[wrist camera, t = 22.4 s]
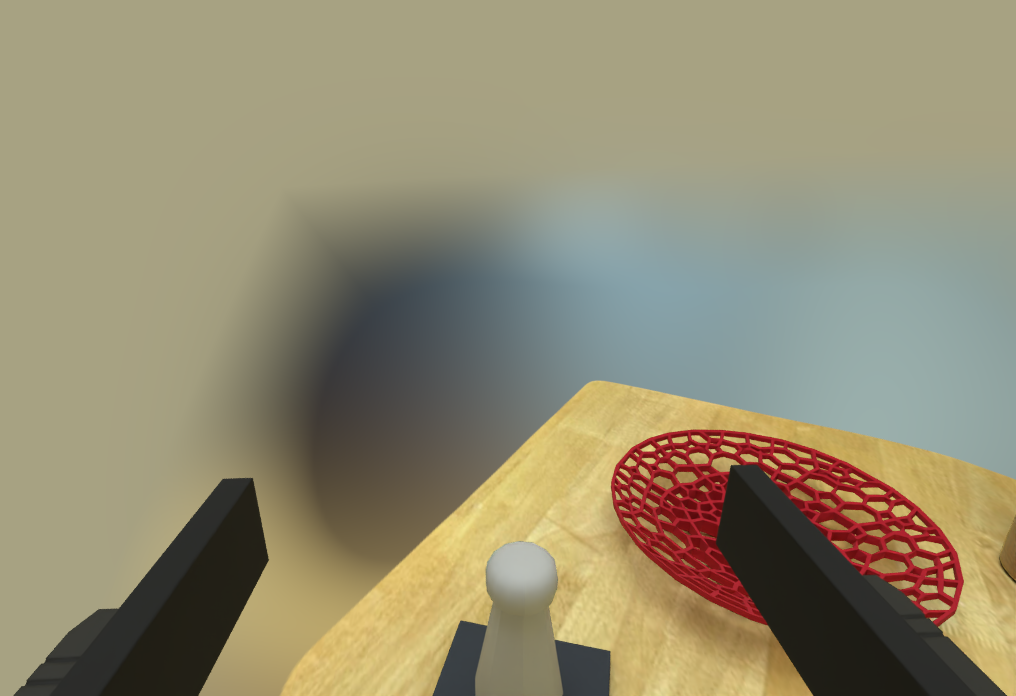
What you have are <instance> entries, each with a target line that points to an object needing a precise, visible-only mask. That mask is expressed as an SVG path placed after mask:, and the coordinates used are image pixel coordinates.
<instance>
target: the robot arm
mask: <svg viewBox="0 0 1016 696" xmlns="http://www.w3.org/2000/svg"><path fill="white" fill-rule="evenodd" d="M716 545H717V546H718V548H719V550H720V551H721V553H722V554H723V556H724V557H725V559H726V560H727V562H728V564H729V565H730V567H731V568H732V570H733V571H734V573H735V574H736V576H737V578H738V579H739V581H740V582H741V584H742V585H743V587H744V588H745V590H746V592H747V593H748V595H749V596H750V598H751V599H752V601H753V602H754V604H755V606H756V607H757V609H758V610H759V612H760V613H761V615H762V617H763V618H764V620H765V621H766V623H767V624H768V626H769V627H770V629H771V631H772V632H773V634H774V635H775V637H776V638H777V640H778V641H779V643H780V645H781V646H782V648H783V649H784V651H785V652H786V654H787V655H788V657H789V659H790V660H791V662H792V663H793V665H794V666H795V668H796V669H797V671H798V673H799V674H800V676H801V677H802V679H803V680H804V682H805V683H806V685H807V687H808V688H809V690H810V691H811V693H812V694H813V696H1007V695H1006V694H1005V693H1004V692H1003V691H1002V690H1001V689H1000V688H999V687H998V686H997V685H996V684H995V683H994V682H993V681H992V680H991V679H990V678H989V677H988V676H987V675H986V674H985V673H984V672H983V671H982V670H981V669H980V668H979V667H977V666H976V665H975V664H974V663H973V662H972V661H971V660H970V659H969V658H968V657H967V656H966V655H965V654H964V653H963V652H962V651H961V650H960V649H959V648H958V647H957V646H956V645H955V644H954V643H953V642H952V641H951V640H950V639H949V638H948V637H945V636H944V635H943V632H942V631H941V630H940V629H939V628H938V627H937V626H936V625H935V624H934V623H933V622H932V621H931V620H930V619H929V618H926V617H925V614H924V613H923V612H922V611H921V610H920V609H919V608H918V607H917V606H916V605H915V604H914V603H913V602H912V601H911V600H910V599H909V598H908V597H907V596H906V595H905V594H904V593H903V592H901V591H900V590H898V589H897V588H895V587H894V586H892V585H891V584H889V583H888V582H886V581H885V580H883V579H882V578H880V577H879V576H877V575H862V574H861V573H860V572H859V571H858V570H857V569H856V568H855V567H854V566H853V565H852V564H851V563H850V562H849V561H848V560H847V559H846V558H845V557H844V556H843V555H842V553H841V552H840V551H839V550H838V549H837V548H836V547H835V546H834V545H833V544H832V543H831V542H830V541H829V540H828V539H827V538H826V537H825V536H824V535H823V533H822V532H821V531H820V530H819V529H818V528H817V527H816V526H815V525H814V524H813V523H812V522H811V521H810V520H809V519H808V518H807V517H806V516H805V515H804V514H803V512H802V511H801V510H800V509H799V508H798V507H797V506H796V505H795V504H794V503H793V502H792V501H791V500H790V499H789V498H788V497H787V496H786V495H785V494H784V492H783V491H782V490H781V489H780V488H779V487H778V486H777V485H776V484H775V483H774V482H773V481H772V480H771V479H770V478H769V477H768V476H767V475H766V474H765V472H764V471H763V470H762V469H761V468H760V467H759V466H758V465H731V468H730V473H729V478H728V483H727V488H726V493H725V498H724V503H723V508H722V513H721V518H720V523H719V528H718V534H717V539H716ZM268 561H269V559H268V554H267V549H266V544H265V538H264V533H263V528H262V523H261V518H260V512H259V507H258V502H257V497H256V492H255V487H254V482H253V478H236V479H223V480H222V481H221V482H220V483H219V484H218V486H217V487H216V488H215V489H214V491H213V492H212V493H211V495H210V496H209V497H208V498H207V499H206V501H205V502H204V503H203V504H202V506H201V507H200V508H199V509H198V511H197V512H196V513H195V514H194V516H193V517H192V518H191V519H190V521H189V522H188V523H187V524H186V526H185V527H184V528H183V529H182V531H181V532H180V533H179V534H178V536H177V537H176V538H175V539H174V541H173V542H172V543H171V544H170V546H169V547H168V548H167V549H166V551H165V552H164V553H163V554H162V556H161V557H160V558H159V559H158V561H157V562H156V563H155V564H154V566H153V567H152V568H151V569H150V571H149V572H148V573H147V574H146V575H145V577H144V578H143V579H142V580H141V582H140V583H139V584H138V586H137V587H136V588H135V589H134V590H133V592H132V593H131V594H130V595H129V597H128V598H127V599H126V600H125V602H124V603H123V604H122V605H121V607H120V608H119V609H99V610H97V611H96V612H95V613H93V614H92V615H91V616H89V617H88V618H87V619H85V620H84V621H83V622H81V623H80V624H79V625H77V626H76V627H75V628H73V629H72V630H71V631H69V632H68V634H67V635H66V636H65V637H64V638H63V639H62V640H61V642H60V643H59V644H58V645H57V646H56V647H55V648H54V650H53V651H52V652H51V653H50V654H49V655H48V657H47V658H46V661H45V663H44V664H41V665H40V666H39V667H38V668H37V669H36V670H35V671H34V673H33V674H32V675H31V676H30V677H29V678H28V680H27V683H26V685H25V686H22V687H21V688H20V689H19V690H18V691H17V692H16V693H15V694H14V696H198V695H199V693H200V691H201V689H202V688H203V686H204V684H205V682H206V680H207V678H208V676H209V674H210V672H211V670H212V668H213V666H214V664H215V663H216V661H217V659H218V657H219V655H220V653H221V651H222V649H223V647H224V645H225V643H226V641H227V639H228V638H229V636H230V634H231V632H232V630H233V628H234V626H235V624H236V622H237V620H238V618H239V616H240V614H241V612H242V611H243V609H244V607H245V605H246V603H247V601H248V599H249V597H250V595H251V593H252V591H253V589H254V588H255V586H256V584H257V582H258V580H259V578H260V576H261V574H262V572H263V570H264V568H265V566H266V564H267V562H268Z"/></svg>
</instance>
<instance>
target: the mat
mask: <svg viewBox="0 0 1016 696" xmlns="http://www.w3.org/2000/svg"><path fill="white" fill-rule="evenodd" d="M486 630H487V626H485V625H480V624H475V623H471V622H466V621H460V623H459V626H458V629H457V631H456V634H455V637H454V639H453V642H452V645H451V648H450V650H449V653H448V656H447V658H446V661H445V664H444V666H443V669H442V672H441V675H440V677H439V680H438V683H437V685H436V688H435V691H434V693H433V696H475V676H476V672H477V668H478V664H479V659H480V655H481V651H482V647H483V642H484V638H485V634H486ZM555 646H556V652H557V658H558V664H559V670H560V676H561V683H562V689H563V695H562V696H609V680H610V651H607V650H602V649H597V648H592V647H587V646H583V645H578V644H573V643H568V642H563V641H558V640H555Z"/></svg>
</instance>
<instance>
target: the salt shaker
mask: <svg viewBox="0 0 1016 696" xmlns="http://www.w3.org/2000/svg"><path fill="white" fill-rule="evenodd" d="M557 585H558V577H557V570H556V565H555V559H554V558H553V557H552V556H551V555H550V554H549V553H548V551H547V550H546V549H544V548H542V547H540V546H538V545H536V544H534V543H532V542H523V541H518V542H513V543H508V544H505V545H503V546H502V547H500V548H499V549H497V550H496V551H494V552H493V554H492V555H491V557H490V559H489V560H488V562H487V567H486V586H487V592H488V594H489V596H490V598H491V600H492V601H493V604H492V608H491V613H490V617H489V621H488V625H487V630H486V634H485V638H484V642H483V647H482V651H481V655H480V659H479V664H478V668H477V672H476V676H475V696H562V695H563V689H562V683H561V676H560V670H559V664H558V658H557V652H556V646H555V640H554V634H553V628H552V622H551V616H550V610H549V605H550V604H551V603H552V601H553V598H554V595H555V593H556V590H557Z"/></svg>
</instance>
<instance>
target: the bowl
mask: <svg viewBox="0 0 1016 696" xmlns="http://www.w3.org/2000/svg"><path fill="white" fill-rule="evenodd" d="M691 435H699V436H701V437H702V438H703V439H704V440H706V441H707V443H698V442H696V441H694V440H692V438H691ZM683 436H687V437H688V441H687V442H685V443H673V442H672V438H676V437H683ZM709 436H720V438H711V437H709ZM724 436H728V437H737V438H745V441H746V443H734V442H731V441H728V440H724V439H723V437H724ZM666 439H668V442H669V444H666V445H662V446H660V445H659V444H658V443H656V442H659V441H663V440H666ZM749 439H751V440H756V441H761V442H767V443H771V446H770V447H759V446H756V445H753V444H751V443H750V440H749ZM711 443H713V444H711ZM650 444H651V445H652V446H653V447H654V448H656V450H655V451H654V452H643V451H641V450H640V449H642V448H644V447H646V446H648V445H650ZM691 444H692V445H693V446H695V447H692V448H689V447H688V446H690V445H691ZM774 444H777V445H781V446H784V448H781V447H774ZM721 445H725V446H730V447H734V448H735V449H736V450H737V452H736V453H735V454H732V453H729V452H725V451H722V450H721V448H720V446H721ZM787 447H788V448H792V449H795V450H798V451H801V452H804V453H807V454H810V455H811V458H812V459H809V458H802V457H798V456H797V455H796V454H794V453H793V452H791V451H790V450H788V449H787ZM670 449H671V450H672V451H671V452H669V453H668V452H666V450H670ZM675 449H684V450H685V451H687V452H686V453H682V452H680V451H677V450H675ZM708 449H715V450H716V451H717V452H716V453H713V454H712V453H711V452H710V451H709V450H708ZM635 452H636V453H637V454H638V455H639V457H637V456H636V455H635V454H634V453H635ZM697 452H699V453H704V454H706V455H707V456H708V458H709V461H708V464H694V463H693V462H692V460H691V459H690V458H689V455H690V454H692V453H697ZM659 453H661V454H662V456H663V457H661V458H660V457H659V456H658V454H659ZM768 453H770V454H768ZM773 453H780V454H785V455H787V456H788V457H789V458H791V459H792V460H794V461H795V462H796V463H795V464H794V463H782V462H781V461H780V460H778V459H777V458H776V457H775V456H774V455H773ZM741 454H750V455H753V456H755V457H757V458H758V462H746V461H745V460H744V459H742V458H741V457H740V455H741ZM673 456H676V457H679V458H681V459H683V460H685V461H686V463H687V464H677V463H675V462H674V461H672V460H671V459H670V458H672V457H673ZM630 457H631V458H632V459H633V460H634V461H635V462H637V464H636V466H631V467H628V466H627V465H625V464H624V463H625V462H626V461H627V460H628V459H629V458H630ZM720 457H726V458H730V459H733V460H736V461H737V462H738V463H739V464H741V465H758V466H759V467H760V468H761V469H762V470H763V471H764V472H766V473H768V474H769V475H771V478H770V479H771V480H772V481H773V482H774V483H775V484H776V485H777V486H778V487H779V488H780V489H781V490H782V491H783V492H784V494H785V495H786V496H787V497H788V498H789V499H790V500H791V501H792V502H793V503H794V504H795V505H796V506H797V507H798V508H799V509H800V510H801V511H802V512H803V514H804V515H805V516H806V517H807V518H808V519H809V520H810V521H811V522H812V523H813V524H814V525H815V526H816V527H817V528H818V529H819V530H820V531H821V532H822V533H823V535H824V536H825V537H826V538H827V539H828V540H829V541H830V542H831V541H847V542H848V543H850V544H852V545H853V548H849V549H844V550H842V549H840V548H839V547H838V546H836V545H835V544H834V543H832V542H831V543H832V544H833V545H834V546H835V547H836V548H837V549H838V550H839V551H840V552H841V553H842V555H843V556H844V557H845V558H846V559H847V560H848V561H849V562H850V563H851V564H852V565H853V566H854V567H855V568H856V569H857V570H858V571H859V572H860V573H861V574H862V575H877V576H879V577H880V578H882V579H883V580H885V581H886V582H894V581H902V580H906V581H909V582H913V583H915V585H914V586H913V587H910V588H906V589H902V590H900V589H898V590H900V591H901V592H903V593H904V594H905V595H906V596H909V595H913V596H914V597H916V598H917V600H916V602H915V601H912V600H911V601H912V602H913V603H914V604H915V605H916V606H917V607H918V608H919V609H920V610H921V611H922V612H923V613H924V614H925V617H926V618H937V619H936V620H935V621H933V623H934V624H935V625H936V626H937V627H939V626H940V625H941V624H942V623H944V622H945V621H946V620H948V619H949V618H950V617H951V616H953V615H954V614H955V612H956V610H957V606H958V602H959V598H960V595H961V591H962V587H963V583H964V580H963V576H962V572H961V567H960V563H959V559H958V554H957V552H956V551H955V549H954V548H953V546H952V545H951V543H950V542H949V540H948V539H947V537H946V536H945V535H944V533H943V532H942V530H941V529H940V528H939V527H938V526H937V525H936V524H935V523H934V522H933V521H932V520H931V519H930V518H929V517H928V516H927V515H926V514H925V513H924V512H923V511H922V510H921V509H920V508H919V507H918V506H916V505H915V504H914V503H912V502H911V501H910V500H908V499H907V498H906V497H904V496H903V495H902V494H900V493H899V492H898V491H896V490H895V489H894V488H892V487H890V486H889V485H887V484H885V483H883V482H881V481H879V480H878V479H876V478H874V477H872V476H870V475H869V474H867V473H865V472H863V471H861V470H860V469H858V468H856V467H854V466H852V465H850V464H849V463H847V462H844V461H842V460H839V459H837V458H835V457H832V456H830V455H827V454H825V453H822V452H820V451H817V450H815V449H812V448H808V447H805V446H802V445H799V444H795V443H792V442H789V441H786V440H782V439H777V438H772V437H767V436H762V435H756V434H751V433H745V432H736V431H726V430H686V431H678V432H670V433H665V434H662V435H659V436H655V437H652V438H649V439H647V440H645V441H643V442H641V443H639V444H638V445H636V446H634V447H632V448H631V449H630V450H629V451H628V452H627V454H626V455H625V456H624V457H623V458H622V459H621V460H620V461H619V463H618V464H617V465H616V467H615V471H614V474H613V478H612V481H611V491H612V498H613V505H614V509H615V511H616V513H617V516H618V518H619V520H620V522H621V524H622V526H623V527H624V529H625V530H626V531H627V533H628V534H629V536H630V537H631V538H632V540H633V541H634V542H635V544H636V545H637V546H638V547H639V548H640V549H641V550H642V551H643V552H644V554H645V555H646V556H647V557H648V558H650V559H651V560H652V561H653V562H655V563H656V564H657V565H658V566H659V567H661V568H662V569H663V570H664V571H665V572H667V573H668V574H669V575H670V576H672V577H673V578H674V579H675V580H677V581H678V582H680V583H681V584H683V585H685V586H686V587H688V588H690V589H691V590H693V591H694V592H696V593H698V594H699V595H701V596H702V597H704V598H706V599H707V600H709V601H711V602H713V603H715V604H717V605H719V606H722V607H724V608H726V609H728V610H730V611H732V612H735V613H737V614H739V615H741V616H743V617H745V618H748V619H750V620H752V621H756V622H759V623H762V624H765V625H768V624H767V623H766V621H765V620H764V618H763V617H762V615H761V613H760V612H759V610H758V609H757V607H756V606H755V604H754V602H753V601H752V599H750V598H748V597H750V596H749V595H748V593H747V592H746V590H745V588H744V587H743V585H742V584H741V582H740V581H739V579H738V578H737V576H736V574H735V573H734V571H733V570H732V568H731V567H730V565H729V564H728V562H727V560H726V559H725V557H724V556H723V554H722V553H721V551H720V550H719V548H718V546H717V545H716V539H717V534H718V528H719V523H720V518H721V513H722V508H723V503H724V498H725V493H726V488H727V483H728V478H729V473H730V472H719V471H718V470H716V469H715V468H713V467H712V466H711V464H712V462H713V459H717V458H720ZM816 457H818V458H820V459H823V460H825V461H828V462H830V463H833V464H832V465H831V464H828V463H825V462H822V461H818V460H817V458H816ZM642 458H654V459H655V460H656V462H655V463H654V464H648V463H646V462H645V461H643V460H642ZM762 459H769V460H771V461H772V462H773V463H774V464H776V465H777V466H778V469H777V470H776V469H774V468H772V467H770V466H768V465H767V464H765V463H763V461H762ZM659 463H668V464H669V465H670V466H671V467H672V468H673V469H674V470H673V472H670V471H666V470H662V469H660V468H659V467H658V464H659ZM798 464H806V465H813V467H814V469H812V470H810V471H808V470H806V469H805V468H803V467H801V466H800V465H798ZM639 465H641V466H642V467H644V468H645V469H647V470H648V472H649V473H650V475H651V478H650V480H649V479H647V478H646V477H644V476H643V475H641V474H640V472H639V470H638V467H639ZM839 466H840V467H842V468H840V467H839ZM620 468H621V469H624V470H626V471H628V473H629V474H630V475H631V477H630V478H628V477H627V476H626V475H625V474H623V473H622V472H621V471H619V469H620ZM820 468H823V469H826V470H822V469H820ZM843 468H844V469H843ZM782 469H783V470H795V471H797V472H798V473H800V474H801V475H802V476H800V477H799V478H797V479H796V478H793V477H791V476H789V475H787V474H784V473H782V472H781V470H782ZM653 470H655V471H653ZM827 470H828V471H827ZM707 471H708V472H709V473H710V474H709V475H704V474H703V473H702V472H707ZM677 472H693V473H694V474H695V475H696V476H697V478H698V479H697V480H695V481H694V482H691V483H680V482H679V481H678V479H677V478H676V476H675V475H676V474H677ZM832 472H836V473H840V474H842V476H839V477H838V476H837V475H835V474H833V473H832ZM851 473H854V474H855V475H857V476H859V477H861V478H862V479H864V480H866V481H868V482H863V481H860V480H857V479H854V478H851V477H850V475H849V474H851ZM617 475H618V476H619V477H620V478H621V479H622V480H624V481H625V482H626V483H627V484H628V485H625V484H621V483H620V481H619V480H618V479H617V478H616V476H617ZM659 476H661V477H664V478H667V479H670V480H671V481H672V483H673V485H674V486H673V487H671V488H670V489H668V490H666V489H664V488H663V487H661V486H659V485H657V484H655V483H654V482H653V479H654V478H656V477H659ZM808 478H809V479H815V480H821V481H823V482H825V483H826V484H828V485H830V486H832V487H833V488H834V489H833V490H832V491H831V492H824V491H817V490H815V489H813V488H812V487H810V486H808V485H806V484H805V483H803V482H804V481H806V480H807V479H808ZM777 479H778V480H781V481H783V482H785V483H787V484H783V483H780V482H777V481H776V480H777ZM633 480H641V481H642V482H644V483H645V484H646V485H647V487H646V488H645V489H644V488H643V487H641V486H640V485H638V484H637V483H635V482H634V481H633ZM715 482H719V483H720V484H716V483H715ZM844 482H848V483H850V484H853V485H855V486H852V485H847V484H843V483H844ZM615 484H616V485H615ZM617 485H618V486H617ZM703 485H704V486H705V487H706V488H707V489H708V490H709V491H708V492H703V491H701V490H699V488H700V487H702V486H703ZM630 487H633V488H634V489H635V490H637V491H638V492H639V493H641V494H642V495H643V497H642V500H641V499H639V498H638V497H636V496H634V495H633V494H632V493H631V491H630ZM868 487H879V488H880V489H882V490H884V491H885V492H887V493H886V494H884V495H866V494H865V493H864V492H863V491H862V490H861V489H860V488H868ZM795 488H797V489H799V490H801V491H802V492H804V493H805V494H807V495H809V496H810V497H812V498H813V501H803V500H800V499H798V498H796V497H794V496H792V495H791V494H790V491H791V490H793V489H795ZM620 489H622V490H624V491H627V493H628V495H629V498H628V497H626V496H624V495H623V494H622V492H621V490H620ZM651 489H652V490H654V491H655V492H657V493H658V494H660V495H661V497H659V496H657V495H655V494H653V493H651V492H650V491H651ZM837 490H843V491H848V492H853V493H855V494H856V495H858V496H859V497H860V498H862V499H863V502H862V503H860V502H844V501H843V500H842V499H841V498H840V497H839V496H838V495H837V494H836V491H837ZM615 491H616V492H618V494H619V496H620V498H621V499H622V500H616V495H615ZM678 493H680V494H681V495H682V496H683V498H679V497H677V496H676V494H678ZM892 496H893V497H894V498H895V499H896V500H891V499H890V497H892ZM646 498H648V499H650V500H652V501H653V502H655V503H656V504H658V505H659V507H655V508H653V507H651V506H650V505H648V504H647V503H646ZM695 498H696V499H697V500H699V501H701V502H697V501H695V500H694V499H695ZM820 499H831V500H832V501H833V502H834V503H835V504H836V505H837V507H836V508H834V509H833V508H831V507H830V506H828V505H826V504H824V503H823V502H821V501H820ZM667 500H669V501H670V502H671V503H672V504H673V505H675V506H672V505H671V504H670V503H668V502H667ZM633 502H635V503H636V504H638V505H639V506H640V508H636V507H634V506H632V504H631V503H633ZM867 502H885V503H886V504H888V505H889V508H888V510H885V511H877V510H875V509H873V508H872V507H870V506H868V505H867V504H866V503H867ZM898 505H904V506H906V507H907V508H908V509H910V510H911V512H910V513H909V514H908V515H907V516H903V517H896V516H895V515H894V514H893V513H892V512H891V511H892V509H893V507H894V506H898ZM618 506H622V507H624V508H626V509H628V510H629V511H630V512H629V511H623V510H620V509H619V507H618ZM685 507H687V508H688V509H686V508H685ZM643 509H645V510H646V511H647V512H649V513H650V514H651V515H652V516H651V515H649V514H648V513H646V512H644V511H643ZM843 509H847V510H864V511H866V512H867V513H869V514H871V515H872V516H874V518H875V521H876V522H868V523H859V524H858V523H856V522H854V521H853V520H851V519H850V518H848V517H846V516H845V515H843V514H841V513H840V512H841V511H842V510H843ZM814 510H818V511H819V512H821V513H819V512H817V511H814ZM660 514H662V515H664V516H665V517H667V518H669V520H670V521H671V522H672V523H673V524H672V523H669V522H665V521H662V520H659V519H658V516H657V515H660ZM915 515H916V516H917V517H918V518H919V519H920V520H921V521H922V522H923V523H924V524H925V525H926V526H927V528H926V527H922V526H919V525H916V524H915V523H914V521H913V520H912V518H913V517H914V516H915ZM623 517H625V518H631V519H632V520H633V521H634V523H635V524H636V525H637V526H634V525H632V524H630V523H628V522H627V521H625V520H624V518H623ZM637 517H642V518H644V519H645V520H647V521H649V522H650V523H652V524H653V525H655V526H656V529H657V531H658V533H656V532H651V531H649V530H648V529H647V528H645V527H644V526H642V525H641V524H640V522H639V521H638V519H637ZM882 518H889V519H888V520H884V521H883V520H882ZM832 519H833V520H834V521H836V522H838V523H839V524H841V525H843V526H844V527H846V528H847V529H848V530H830V529H828V528H826V527H824V526H822V525H820V524H819V523H821V522H825V521H828V520H832ZM892 525H895V526H896V527H897V528H899V529H900V531H892V530H891V529H890V528H889V526H892ZM680 529H681V530H680ZM877 529H880V530H881V531H882V532H883V533H885V534H886V535H885V536H883V537H882V538H880V537H876V536H872V535H868V534H867V533H866V532H865V531H870V530H877ZM905 529H912V530H915V531H918V532H922V535H915V536H911V535H909V534H908V533H906V532H905ZM663 530H666V531H668V532H670V533H673V534H674V535H675V536H676V537H677V538H678V539H680V540H681V541H682V542H683V543H684V544H685V545H686V547H687V548H685V549H682V548H681V547H680V546H678V545H677V544H676V543H675V542H673V541H672V540H671V539H670V538H668V537H667V536H666V535H665V534H664V531H663ZM682 530H684V531H688V532H689V533H690V535H687V534H686V533H684V532H683V531H682ZM633 532H635V533H636V534H637V535H638V536H640V537H641V538H642V539H643V540H644V541H645V542H646V544H645V543H643V542H640V541H639V539H638V538H637V537H636V535H635V534H634V533H633ZM642 532H643V533H644V534H646V535H647V536H648V537H650V538H651V539H650V538H648V537H647V536H646V535H644V534H643V533H642ZM700 532H704V533H706V534H709V535H711V536H714V537H716V538H711V537H706V536H702V535H701V533H700ZM855 534H856V536H855ZM929 534H935V535H936V536H931V535H929ZM893 539H894V540H897V541H901V542H905V543H907V544H908V545H909V547H910V549H911V550H912V552H909V553H906V554H903V553H899V552H896V551H892V550H888V549H887V546H886V543H888V542H890V541H891V540H893ZM659 541H663V542H664V543H665V544H666V545H667V546H669V547H670V548H671V549H672V550H671V549H670V548H668V547H667V546H665V545H664V544H662V543H661V542H659ZM922 541H929V542H934V543H939V544H942V545H943V547H944V548H945V551H942V552H940V553H937V554H936V553H933V552H929V551H926V550H922V549H919V547H918V545H917V544H916V542H922ZM863 542H865V543H869V544H872V545H876V546H878V547H879V550H880V551H879V552H877V553H874V554H869V553H867V552H864V551H862V550H859V549H858V545H860V544H862V543H863ZM652 546H654V547H657V548H659V549H660V550H662V551H663V552H665V553H666V554H668V555H669V556H671V557H672V558H673V560H674V561H675V562H674V561H671V560H668V559H666V558H665V557H664V556H663V555H661V554H660V553H659V552H658V551H656V550H655V549H654V548H653V547H652ZM695 547H697V548H699V549H700V550H699V549H697V548H695ZM915 556H919V557H922V558H926V559H929V560H933V562H934V565H935V566H934V567H930V568H925V569H921V568H919V567H916V566H914V565H913V563H912V561H911V560H910V559H912V558H914V557H915ZM948 556H949V557H950V559H951V561H949V562H946V563H944V564H942V563H941V561H940V558H944V557H948ZM853 558H854V559H856V560H858V561H861V562H863V563H865V564H864V565H861V564H858V563H854V562H852V561H851V560H850V559H853ZM882 558H887V559H891V560H895V561H899V562H904V563H905V565H906V566H907V568H908V569H907V570H906V571H905V572H899V573H887V574H883V573H881V572H878V571H876V570H874V569H872V568H870V567H869V564H870V563H872V562H875V561H877V560H880V559H882ZM681 559H684V560H685V561H687V562H688V563H689V564H691V565H692V566H693V567H695V568H696V569H694V568H692V567H689V566H686V565H685V564H684V563H683V562H682V560H681ZM697 559H698V560H700V561H702V562H704V563H705V564H707V565H708V566H709V567H710V568H712V569H709V568H708V567H707V566H705V565H704V564H703V563H701V562H700V561H698V560H697ZM950 568H953V571H954V576H955V580H951V579H944V575H943V571H945V570H948V569H950ZM915 574H916V575H915ZM932 574H936V578H930V577H925V576H928V575H932ZM918 575H919V576H918ZM707 578H710V579H712V580H714V581H716V582H718V583H720V584H721V585H718V584H716V583H714V582H712V581H711V580H709V579H707ZM922 584H923V585H934V586H937V590H938V593H924V592H922V591H921V590H920V589H919V588H920V587H921V585H922ZM722 585H723V586H722ZM944 586H945V587H954V588H956V591H955V595H954V598H952V597H951V596H949V595H947V594H946V593H944V592H943V589H944ZM744 595H745V596H744ZM746 596H747V597H746ZM934 599H939V600H941V601H942V602H944V603H946V604H947V605H949V606H950V607H951V608H950V609H949V610H927V609H926V608H924V607H923V606H921V605H920V602H921V601H927V600H934Z"/></svg>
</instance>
